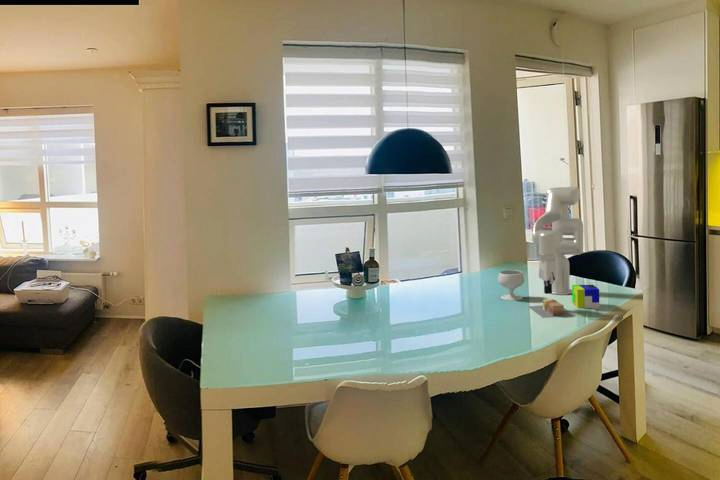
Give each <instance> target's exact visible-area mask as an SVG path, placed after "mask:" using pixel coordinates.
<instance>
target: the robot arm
mask: <svg viewBox="0 0 720 480" xmlns="http://www.w3.org/2000/svg"><path fill="white" fill-rule="evenodd" d="M545 196H546V197H545V198H546V202H545V209H544V213H543V214H542V215H541V216H539V218H538V219H537V220H536V221H535V222H534V224H533V228H532V233H531V241H532V243H533V244H535V245H537V246H538V248H539V250H538V251H539V252H538V253H539V254H538V255H539V257H538V258H539V263H538V265H539V266H538V277H539V278H540V280H542V281H543V289H544V291H543V293H544V294H546V295H549V294H550V295H551V294H553V295H559V296H560V295H561V296H562V295H563V296H564V295H567V296H568V295H572V288H570V283H571V282H570V261H569V259H568V258H567V257H566V256H569V255H570V256H577V255H578V256H579V255H581V254H583V252H584V224H583V223H584V222H583V220H582V219H580V218H577V217H576V218H570V217H569V212H570V211H569V208H568V207H567V206H575V205H576V204H578V202H579V201H580V198H581V190H580V188H579V187H578V186H562V187H561V186H559V187H551V188H548V189H547V190H546V191H545ZM549 224H551V229H552V230H551V229H548V230H545V229H542V228H543V227H546V226H547V225H549ZM563 236H573V237H563Z"/></svg>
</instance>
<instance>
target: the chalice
mask: <svg viewBox="0 0 720 480" xmlns="http://www.w3.org/2000/svg"><path fill="white" fill-rule="evenodd" d="M497 281H498V284H499V285H500V286H501V287H503V288H506V289H507V290H508V291H509V294H505V295H501V296H500V298H499V299H501V300H506V301H519V300H523V296H521V295H517V294H514V291H515V289H517V288H519V287H521V286H522V285H524V283H525V276H524V274H523V272H522V271H520V270H515V269H512V270H511V269H509V270H508V269H507V270H502V271H500V272H499V274H498V277H497Z"/></svg>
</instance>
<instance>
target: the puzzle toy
mask: <svg viewBox="0 0 720 480" xmlns="http://www.w3.org/2000/svg"><path fill="white" fill-rule="evenodd" d="M571 290H572V293H571V295H572V296H571V297H572V298H571V302H572V303H573V305H574V306H575V307H576V308H577V309H592V310H594V309H595V310H599V309H600V289H599V288H598V287H597V286H595V285H594V284H572V285H571Z"/></svg>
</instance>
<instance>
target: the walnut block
mask: <svg viewBox="0 0 720 480" xmlns="http://www.w3.org/2000/svg"><path fill="white" fill-rule="evenodd" d="M542 305H543V309H544V310H545V311H546V312H548V313H549V314H551V315H552V316H564V308H565V307H564V304H562V303H561V302H559V301H557V300H556V299H554V298H548V299H547V298H545V299H542Z"/></svg>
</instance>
